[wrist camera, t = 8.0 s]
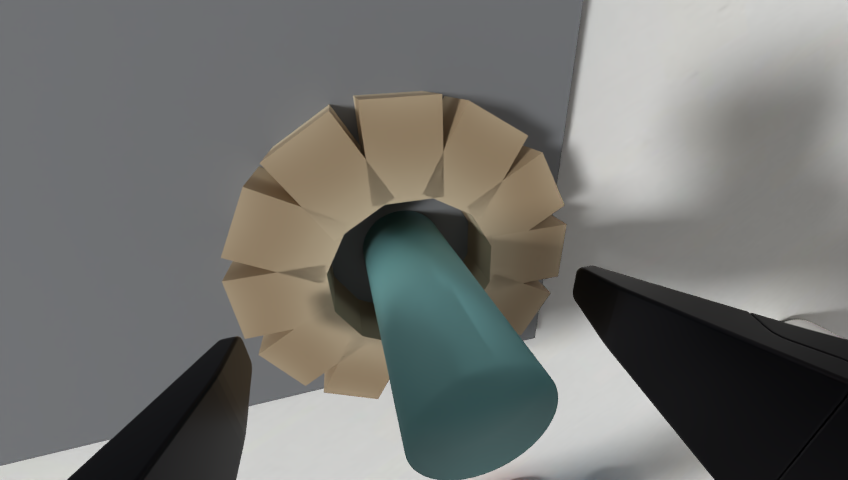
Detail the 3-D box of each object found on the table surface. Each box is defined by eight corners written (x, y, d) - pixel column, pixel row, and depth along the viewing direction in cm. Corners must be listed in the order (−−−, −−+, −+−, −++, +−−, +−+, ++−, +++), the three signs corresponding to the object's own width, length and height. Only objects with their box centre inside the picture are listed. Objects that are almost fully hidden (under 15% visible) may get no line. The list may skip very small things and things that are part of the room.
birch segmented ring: (519, 327, 15) (543, 359, 13) (287, 380, 13) (280, 427, 11) (546, 82, 10) (590, 83, 9) (191, 105, 8) (154, 114, 7)
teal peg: (441, 273, 13) (548, 452, 6) (368, 287, 12) (411, 498, 6) (438, 205, 11) (568, 346, 5) (357, 216, 11) (396, 392, 5)
